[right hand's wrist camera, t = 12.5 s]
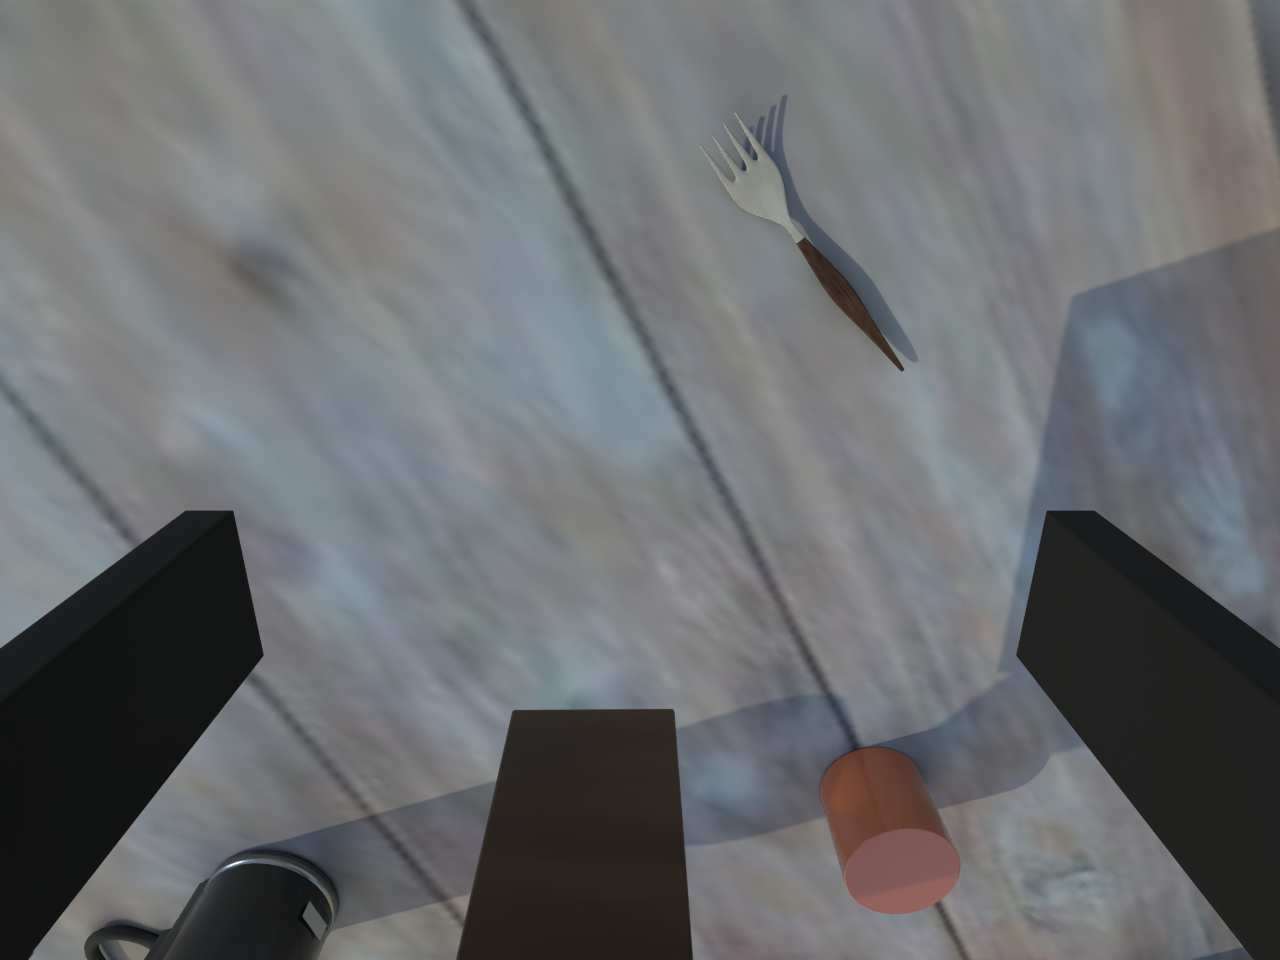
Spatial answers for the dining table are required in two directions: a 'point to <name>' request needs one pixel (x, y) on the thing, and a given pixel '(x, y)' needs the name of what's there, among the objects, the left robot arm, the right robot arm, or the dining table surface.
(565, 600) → the dining table surface
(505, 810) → the walnut box
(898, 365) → the fork
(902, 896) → the orange clay cylinder
